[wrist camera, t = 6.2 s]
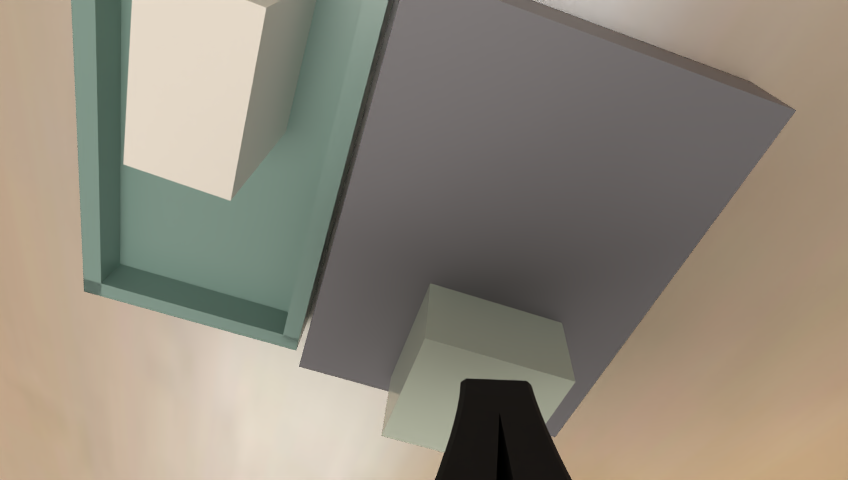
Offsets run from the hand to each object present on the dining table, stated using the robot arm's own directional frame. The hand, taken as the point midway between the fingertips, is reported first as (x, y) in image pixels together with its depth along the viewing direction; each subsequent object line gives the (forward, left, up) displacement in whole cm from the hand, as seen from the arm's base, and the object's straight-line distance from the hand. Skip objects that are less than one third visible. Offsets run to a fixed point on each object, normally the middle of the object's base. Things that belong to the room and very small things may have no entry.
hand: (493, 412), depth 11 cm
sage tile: (-1, +4, -6) cm, 7 cm away
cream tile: (+7, -3, -6) cm, 9 cm away
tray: (+9, 0, -8) cm, 12 cm away
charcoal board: (0, 0, -8) cm, 8 cm away
